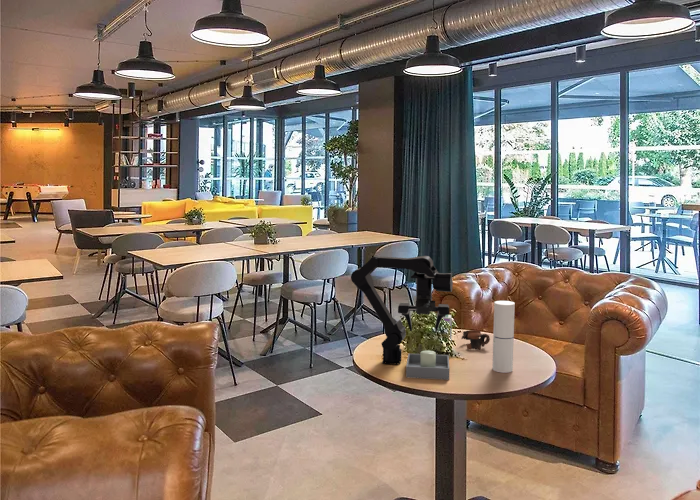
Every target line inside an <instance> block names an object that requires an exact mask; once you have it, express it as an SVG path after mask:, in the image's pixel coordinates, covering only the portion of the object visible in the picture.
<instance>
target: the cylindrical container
mask: <svg viewBox="0 0 700 500" xmlns="http://www.w3.org/2000/svg"><path fill="white" fill-rule="evenodd" d="M493 303H494V304H493V305H494V307H493V333H492V334H493V335H492V367H491V368H492V371H494V372H497V373H504V374H505V373H507V374H508V373H512V372H513V368H514V367H513V366H514V365H513V364H514V339H515V338H514V337H515V313H516V312H515V306H516V305H515V303H516V302H514V301H512V300H511V301H510V300H496V301H494V302H493Z"/></svg>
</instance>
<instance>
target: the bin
mask: <svg viewBox="0 0 700 500" xmlns="http://www.w3.org/2000/svg"><path fill="white" fill-rule="evenodd" d="M407 354H408V355H407V361H406V365H405V366H406V367H405V370H406V371H405V374H406V375H405V378H409V379H426V380H427V379H428V380H444V381H445V380H446V381H448V380H450V359H449V357H450V356H449V355H448V354H436V368H434V367H420V353H407Z"/></svg>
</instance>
